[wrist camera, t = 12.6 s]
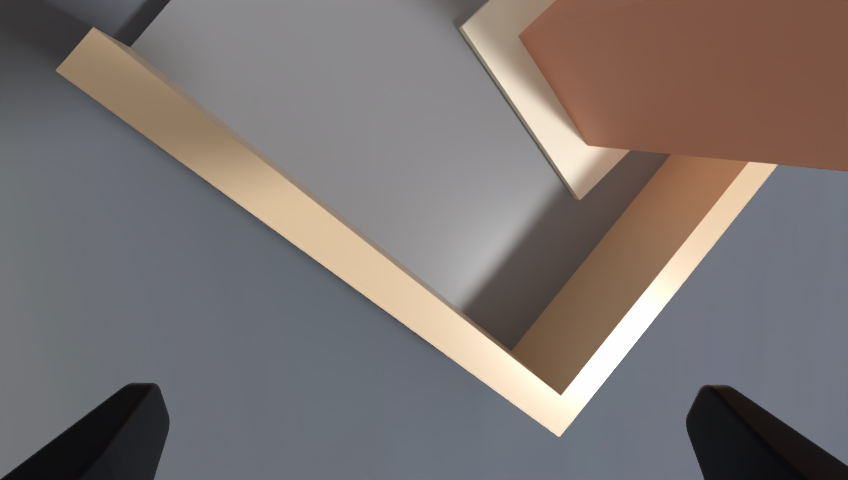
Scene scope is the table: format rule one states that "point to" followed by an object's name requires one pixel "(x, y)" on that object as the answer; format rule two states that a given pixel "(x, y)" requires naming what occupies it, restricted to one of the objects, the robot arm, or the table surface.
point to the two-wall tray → (428, 174)
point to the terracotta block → (702, 76)
